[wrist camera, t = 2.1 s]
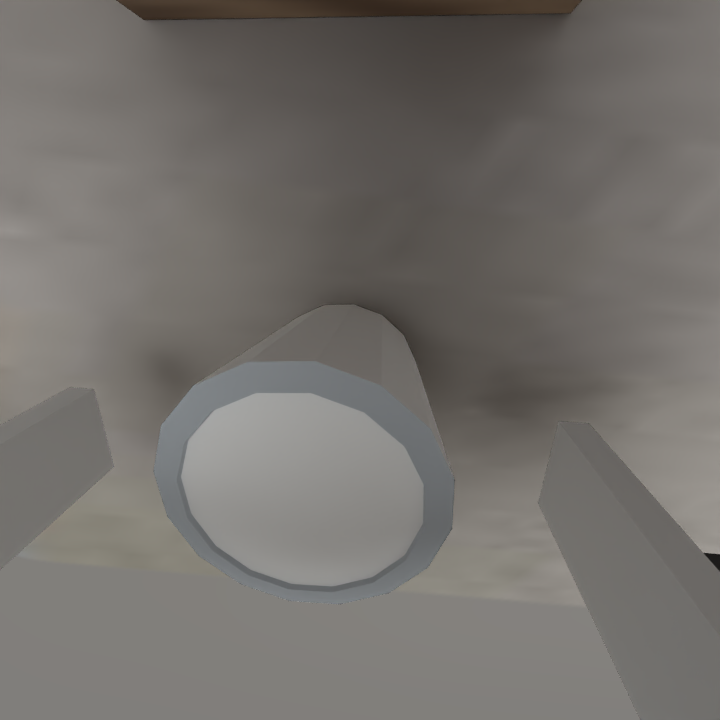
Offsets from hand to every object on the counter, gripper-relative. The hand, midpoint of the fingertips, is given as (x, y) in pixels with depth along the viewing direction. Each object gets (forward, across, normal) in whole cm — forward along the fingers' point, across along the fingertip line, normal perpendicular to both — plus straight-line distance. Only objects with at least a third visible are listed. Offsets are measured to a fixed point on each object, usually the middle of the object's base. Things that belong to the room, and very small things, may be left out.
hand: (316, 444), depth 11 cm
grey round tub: (+5, 0, 0) cm, 5 cm away
